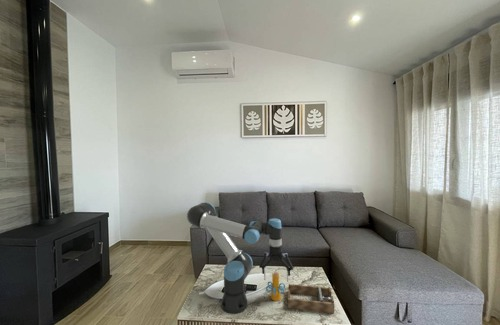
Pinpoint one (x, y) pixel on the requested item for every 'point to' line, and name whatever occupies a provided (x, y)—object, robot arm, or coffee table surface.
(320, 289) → the pusher
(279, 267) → the coffee table surface
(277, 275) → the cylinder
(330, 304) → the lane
